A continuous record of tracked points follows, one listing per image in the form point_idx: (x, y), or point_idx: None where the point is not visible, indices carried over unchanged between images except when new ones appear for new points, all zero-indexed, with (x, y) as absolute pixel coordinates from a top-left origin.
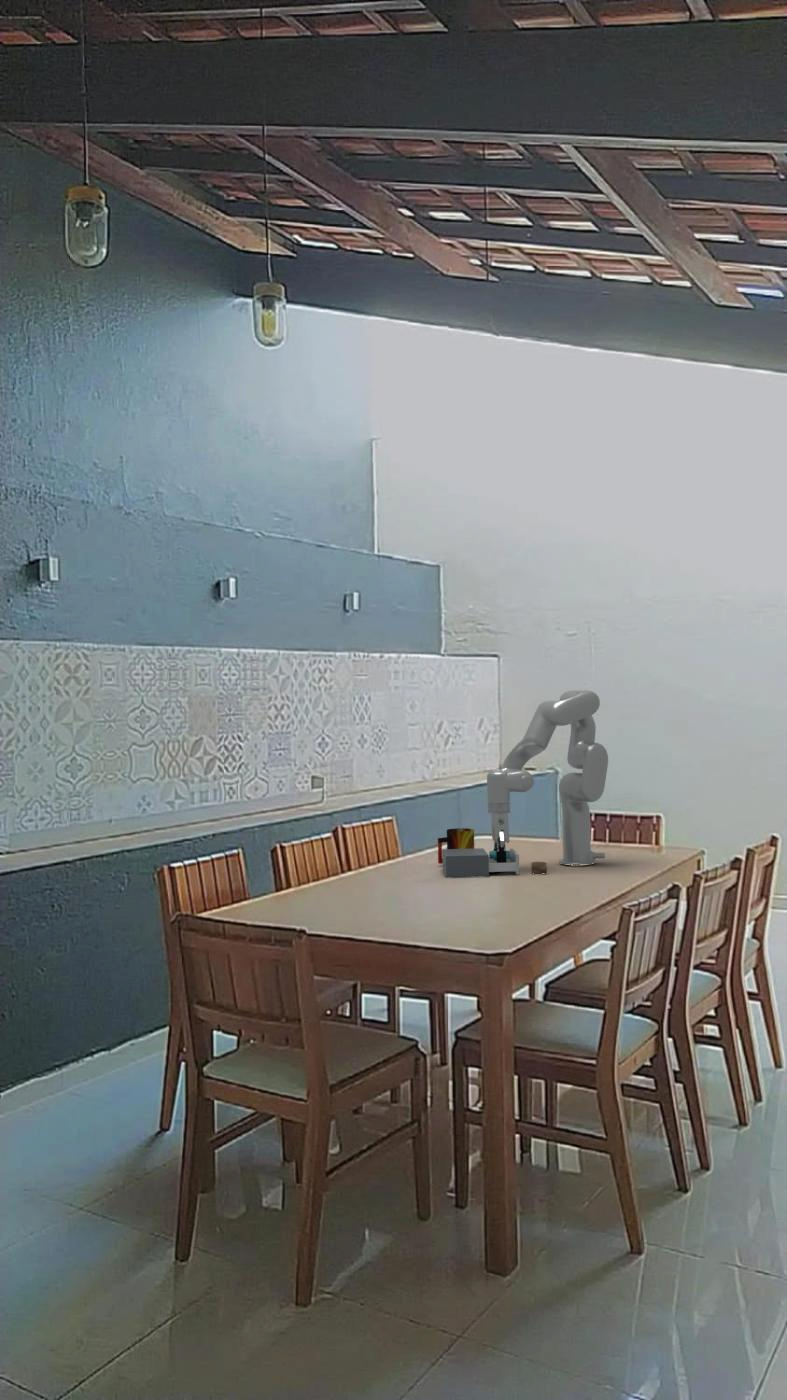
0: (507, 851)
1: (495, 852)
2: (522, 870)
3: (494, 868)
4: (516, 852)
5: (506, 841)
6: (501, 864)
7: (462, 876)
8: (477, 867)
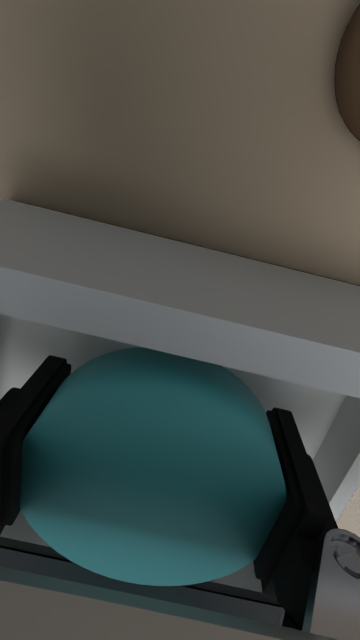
0: (172, 428)
1: (194, 555)
2: (146, 158)
3: None
4: (323, 350)
5: (112, 592)
6: (354, 472)
7: None
8: None
